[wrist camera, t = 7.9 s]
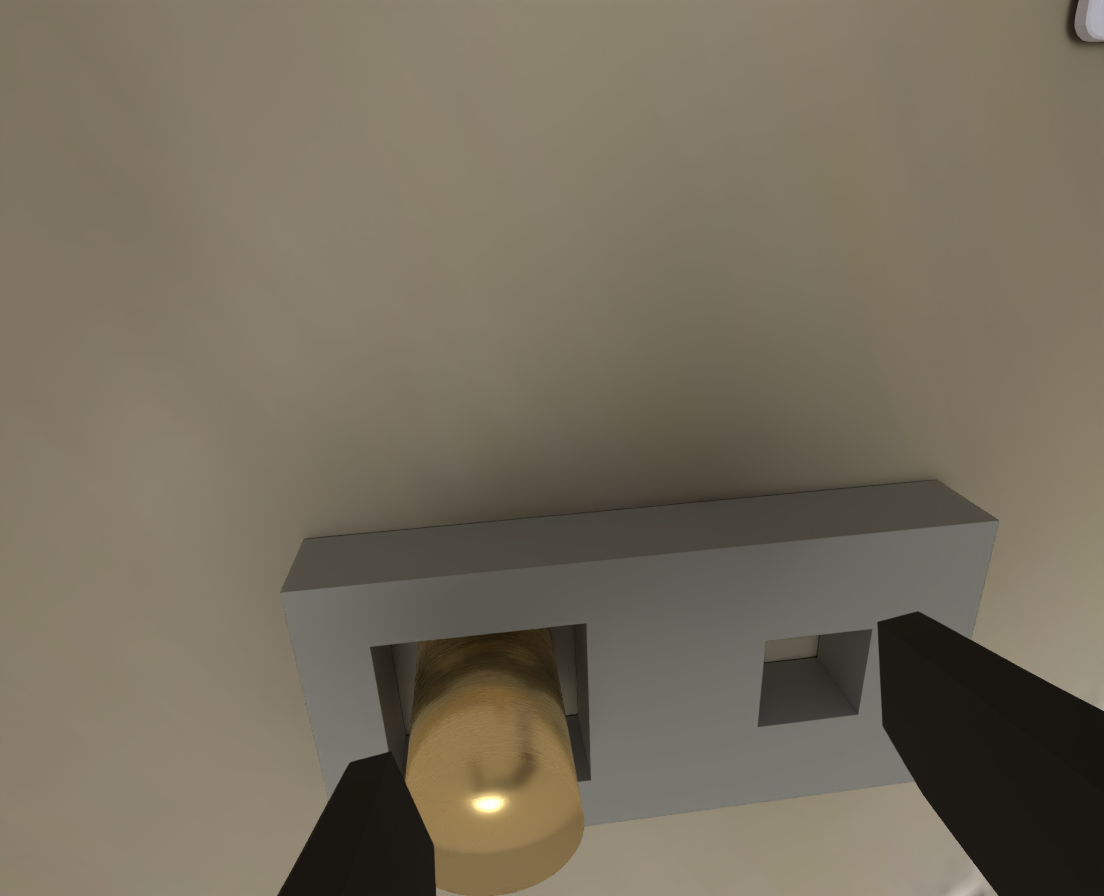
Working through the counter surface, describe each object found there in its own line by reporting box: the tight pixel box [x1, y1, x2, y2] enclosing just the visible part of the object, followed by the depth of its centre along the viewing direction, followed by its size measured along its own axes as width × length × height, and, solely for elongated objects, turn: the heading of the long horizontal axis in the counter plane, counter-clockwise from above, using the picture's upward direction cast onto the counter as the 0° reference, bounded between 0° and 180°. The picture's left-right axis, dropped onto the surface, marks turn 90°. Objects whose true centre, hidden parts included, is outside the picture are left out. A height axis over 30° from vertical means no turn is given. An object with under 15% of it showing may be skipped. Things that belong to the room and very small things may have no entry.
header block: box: [280, 480, 999, 826], centre depth 20 cm, size 18×9×2 cm, turn 93°
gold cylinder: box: [405, 628, 584, 896], centre depth 18 cm, size 4×4×6 cm
